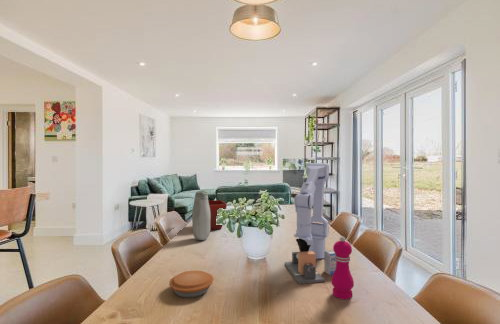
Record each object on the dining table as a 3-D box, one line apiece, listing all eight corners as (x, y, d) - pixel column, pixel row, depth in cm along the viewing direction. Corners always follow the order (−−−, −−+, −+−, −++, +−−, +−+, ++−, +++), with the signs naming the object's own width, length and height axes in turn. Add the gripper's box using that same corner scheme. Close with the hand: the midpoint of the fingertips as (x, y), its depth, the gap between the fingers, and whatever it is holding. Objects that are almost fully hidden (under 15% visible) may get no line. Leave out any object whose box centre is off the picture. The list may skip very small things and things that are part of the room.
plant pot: (194, 225, 193) (193, 201, 193) (221, 223, 199) (221, 199, 199) (197, 232, 175) (197, 205, 175) (227, 230, 181) (227, 204, 180)
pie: (169, 304, 90) (169, 289, 90) (169, 283, 105) (169, 270, 105) (217, 297, 95) (216, 282, 95) (210, 278, 110) (210, 265, 109)
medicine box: (329, 275, 111) (329, 254, 111) (323, 271, 115) (323, 250, 115) (347, 273, 113) (347, 252, 113) (340, 269, 117) (340, 248, 117)
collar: (298, 270, 111) (298, 252, 111) (312, 269, 112) (312, 251, 112) (300, 274, 108) (300, 254, 108) (315, 273, 109) (315, 253, 109)
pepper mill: (336, 288, 101) (336, 232, 100) (356, 294, 96) (356, 236, 96) (327, 295, 95) (327, 237, 95) (349, 302, 90) (349, 241, 90)
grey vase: (209, 242, 156) (208, 191, 155) (190, 242, 156) (190, 191, 155) (211, 237, 165) (211, 189, 165) (194, 237, 166) (194, 189, 165)
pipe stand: (284, 264, 123) (284, 251, 123) (306, 262, 124) (306, 250, 124) (298, 283, 104) (298, 268, 104) (324, 281, 106) (324, 267, 106)
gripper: (289, 220, 119) (289, 251, 120) (300, 228, 105) (300, 264, 105) (305, 219, 121) (305, 250, 121) (318, 227, 106) (318, 263, 106)
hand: (304, 257), depth 113 cm, fingers closed
